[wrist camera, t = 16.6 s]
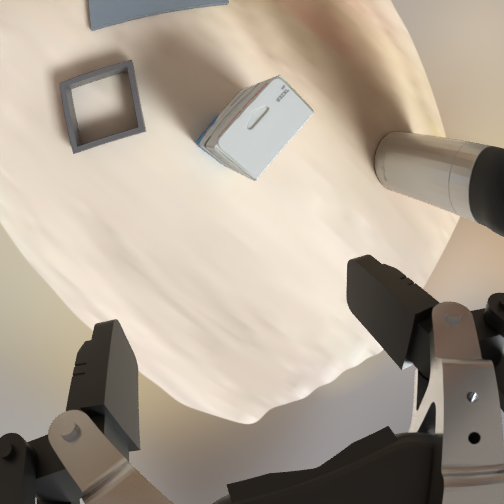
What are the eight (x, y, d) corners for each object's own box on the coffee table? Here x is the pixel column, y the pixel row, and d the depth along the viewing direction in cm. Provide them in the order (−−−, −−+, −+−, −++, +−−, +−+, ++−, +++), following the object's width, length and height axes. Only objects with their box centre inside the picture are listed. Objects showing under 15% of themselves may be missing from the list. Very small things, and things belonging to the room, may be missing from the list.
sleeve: (133, 64, 29) (131, 60, 27) (146, 131, 32) (145, 131, 30) (65, 86, 27) (59, 83, 25) (78, 152, 31) (73, 153, 28)
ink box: (225, 168, 37) (256, 184, 26) (193, 142, 35) (211, 146, 24) (271, 115, 36) (318, 111, 25) (241, 88, 34) (278, 72, 23)
